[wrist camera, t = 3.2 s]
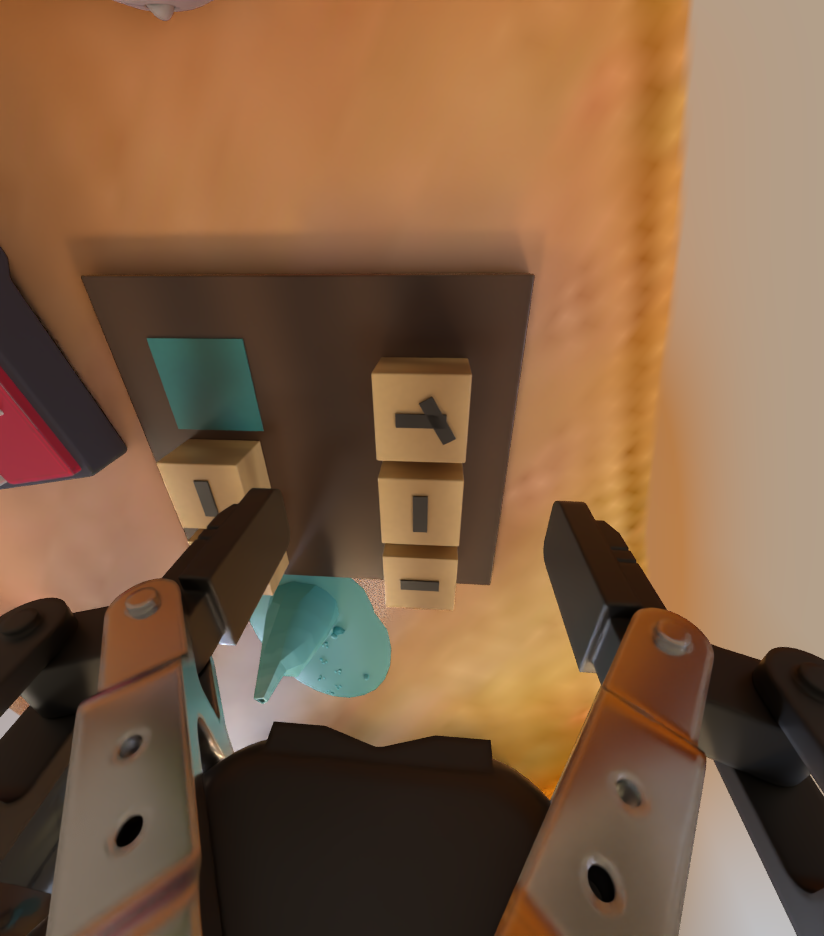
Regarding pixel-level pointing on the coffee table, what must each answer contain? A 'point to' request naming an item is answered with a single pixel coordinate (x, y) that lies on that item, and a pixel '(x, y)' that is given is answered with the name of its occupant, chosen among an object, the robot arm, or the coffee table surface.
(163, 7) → the flowerpot
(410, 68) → the coffee table surface
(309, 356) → the letter board
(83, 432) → the calculator
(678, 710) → the robot arm
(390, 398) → the tan cross-marked cube
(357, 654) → the diorama
